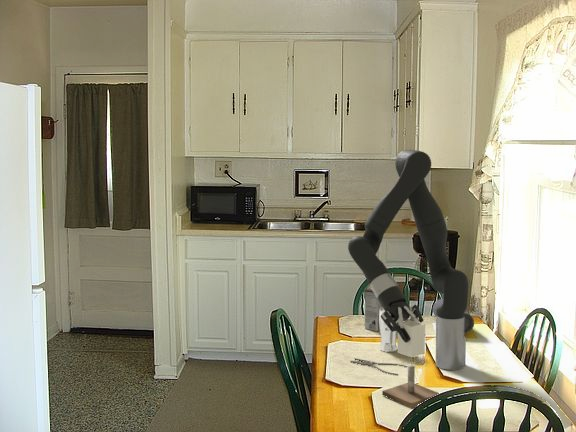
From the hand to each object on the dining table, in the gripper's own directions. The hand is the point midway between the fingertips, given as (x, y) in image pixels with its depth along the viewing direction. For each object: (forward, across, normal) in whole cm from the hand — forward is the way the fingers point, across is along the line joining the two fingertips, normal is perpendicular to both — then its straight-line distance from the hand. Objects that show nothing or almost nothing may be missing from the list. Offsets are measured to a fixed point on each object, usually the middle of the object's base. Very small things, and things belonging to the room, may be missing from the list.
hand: (415, 339), depth 204 cm
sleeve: (+2, 0, +5) cm, 5 cm away
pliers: (-5, +10, +32) cm, 34 cm away
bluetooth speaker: (-16, +64, +41) cm, 78 cm away
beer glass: (-14, +26, +40) cm, 49 cm away
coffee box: (-30, +42, +56) cm, 76 cm away
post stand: (+12, 0, +14) cm, 18 cm away
